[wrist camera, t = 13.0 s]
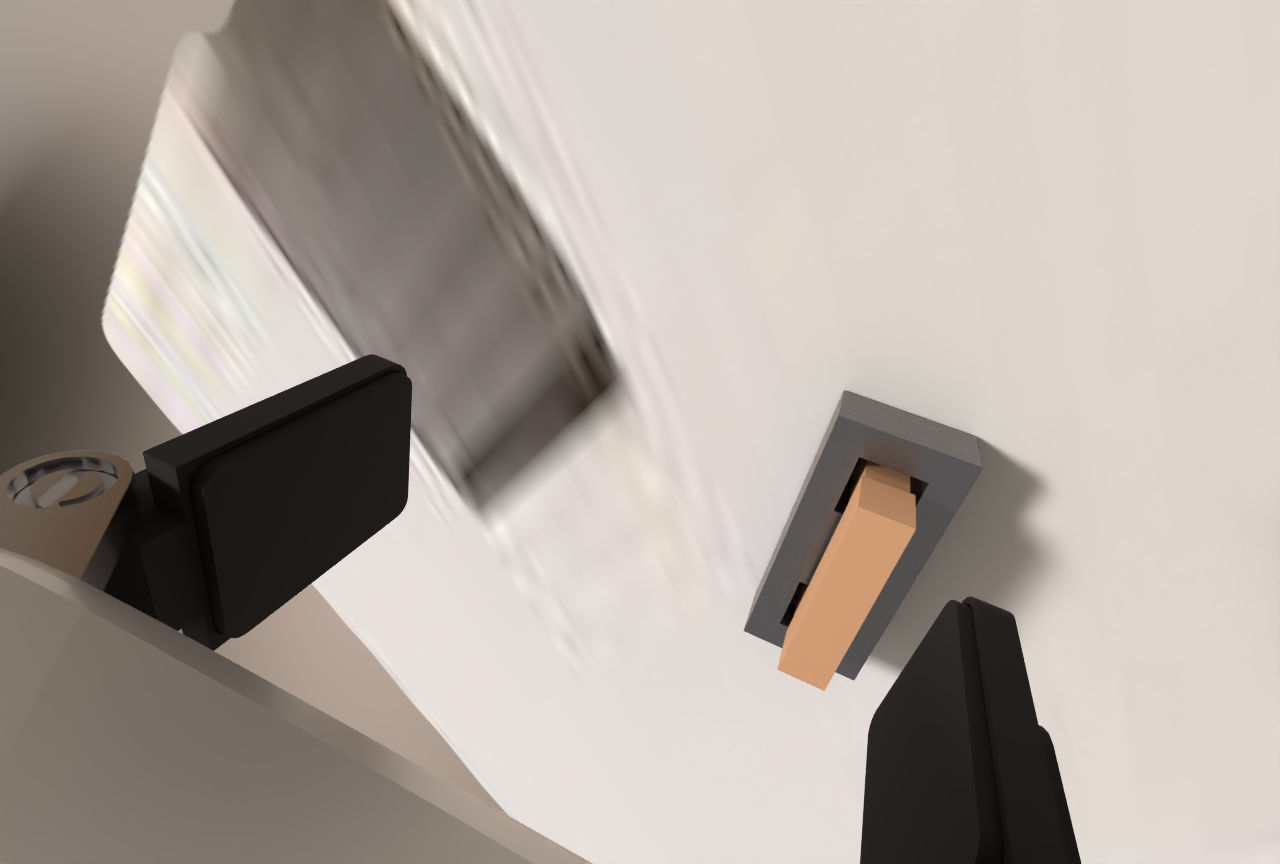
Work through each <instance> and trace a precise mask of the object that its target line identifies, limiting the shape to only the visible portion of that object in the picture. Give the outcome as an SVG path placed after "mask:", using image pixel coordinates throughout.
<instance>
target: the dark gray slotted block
mask: <svg viewBox="0 0 1280 864" xmlns="http://www.w3.org/2000/svg"><path fill="white" fill-rule="evenodd" d="M859 457H860V458H863V459H866V460H868V461H871V462H874V463H876V464H879V465H882V466H884V467H887V468H890V469H893V470H895V471H898V472H901V473H903V474H906V475H909V476H911V477H913V479H912V481H911V483H910V493H911V494H914V495H915V502H916V530H915V532H914V534H913V535H912V537H911V539H910V541H909V542H908V544H907V546H906V548H905V550H904V551H903V553H902V555H901V557H900V558H899V560H898V562H897V564H896V565H895V567H894V569H893V571H892V572H891V574H890V576H889V578H888V579H887V581H886V583H885V585H884V587H883V588H882V590H881V592H880V594H879V595H878V597H877V599H876V601H875V602H874V604H873V606H872V608H871V609H870V611H869V613H868V615H867V616H866V618H865V620H864V622H863V624H862V625H861V627H860V629H859V631H858V632H857V634H856V636H855V638H854V639H853V641H852V643H851V645H850V646H849V648H848V650H847V652H846V653H845V655H844V657H843V659H842V660H841V662H840V664H839V666H838V668H837V669H836V671H835V672H836V673H839V674H841V675H843V676H845V677H847V678H850V679H852V680H855V678H856V677H857V675H858V673H859V672H860V670H861V668H862V667H863V665H864V663H865V662H866V660H867V658H868V657H869V655H870V653H871V652H872V650H873V648H874V647H875V645H876V643H877V642H878V640H879V639H880V637H881V635H882V634H883V632H884V630H885V629H886V627H887V625H888V624H889V622H890V620H891V619H892V617H893V615H894V614H895V612H896V610H897V609H898V607H899V605H900V604H901V602H902V601H903V599H904V597H905V596H906V594H907V592H908V591H909V589H910V587H911V586H912V584H913V582H914V581H915V579H916V577H917V576H918V574H919V572H920V571H921V569H922V567H923V566H924V564H925V563H926V561H927V559H928V558H929V556H930V554H931V553H932V551H933V549H934V548H935V546H936V544H937V543H938V541H939V539H940V538H941V536H942V534H943V533H944V531H945V529H946V528H947V526H948V525H949V523H950V521H951V520H952V518H953V516H954V515H955V513H956V511H957V510H958V508H959V506H960V505H961V503H962V501H963V500H964V498H965V496H966V495H967V493H968V491H969V490H970V488H971V486H972V485H973V483H974V482H975V480H976V478H977V477H978V475H979V473H980V472H981V470H982V468H983V466H982V461H981V457H980V452H979V448H978V443H977V439H976V436H973V435H970V434H967V433H964V432H962V431H959V430H956V429H953V428H950V427H947V426H945V425H942V424H939V423H936V422H933V421H930V420H928V419H925V418H922V417H919V416H916V415H913V414H911V413H908V412H905V411H902V410H899V409H896V408H894V407H891V406H888V405H885V404H882V403H879V402H877V401H874V400H871V399H868V398H865V397H862V396H860V395H857V394H854V393H851V392H848V391H845V390H844V392H843V394H842V396H841V399H840V401H839V403H838V406H837V408H836V410H835V412H834V415H833V417H832V419H831V422H830V424H829V426H828V429H827V431H826V433H825V435H824V438H823V440H822V442H821V445H820V447H819V449H818V452H817V454H816V456H815V458H814V461H813V463H812V465H811V468H810V470H809V472H808V475H807V477H806V479H805V481H804V484H803V486H802V488H801V491H800V493H799V495H798V498H797V500H796V502H795V504H794V507H793V509H792V511H791V514H790V516H789V518H788V521H787V523H786V525H785V527H784V530H783V532H782V534H781V537H780V539H779V541H778V544H777V546H776V548H775V550H774V553H773V555H772V557H771V560H770V562H769V564H768V567H767V569H766V571H765V573H764V576H763V578H762V580H761V583H760V585H759V587H758V590H757V592H756V594H755V597H754V600H753V603H752V606H751V609H750V613H749V616H748V619H747V622H746V625H745V628H744V631H745V632H748V633H750V634H752V635H754V636H756V637H759V638H761V639H763V640H765V641H768V642H770V643H772V644H774V645H776V646H779V647H781V648H783V644H784V640H785V636H786V632H787V629H788V627H789V625H790V623H791V621H792V619H793V617H794V613H795V609H796V604H797V600H798V596H799V591H796V588H797V586H798V584H799V582H802V583H804V584H806V585H809V584H810V582H811V580H812V578H813V576H814V574H815V571H816V569H817V567H818V565H819V563H820V561H821V559H822V557H823V555H824V553H825V551H826V549H827V547H828V545H829V543H830V540H831V538H832V536H833V534H834V532H835V530H836V528H837V526H838V524H839V522H840V520H841V518H842V516H843V514H844V512H845V509H846V507H847V505H848V503H849V498H850V492H851V486H852V484H850V483H847V482H848V480H849V478H850V475H851V473H852V471H853V469H854V467H855V465H856V463H857V461H858V459H859Z"/></svg>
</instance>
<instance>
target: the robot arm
mask: <svg viewBox="0 0 1280 864" xmlns="http://www.w3.org/2000/svg"><path fill="white" fill-rule="evenodd" d="M411 402H412V382H411V380H410V378H408V377H407V373H406V371H405V368H404V367H402V366H401V365H399V364H397V363H394V362H392V361H389V360H387V359H384V358H382V357H379V356H377V355H373V354H371V355H367V356H364V357H362V358H359V359H357V360H355V361H352V362H350V363H348V364H346V365H343V366H341V367H339V368H336V369H334V370H332V371H329V372H327V373H325V374H322V375H320V376H318V377H315V378H313V379H311V380H308V381H306V382H304V383H301V384H299V385H297V386H295V387H292V388H290V389H288V390H285V391H283V392H281V393H278V394H276V395H274V396H271V397H269V398H267V399H264V400H262V401H260V402H257V403H255V404H253V405H250V406H248V407H246V408H243V409H241V410H239V411H237V412H234V413H232V414H230V415H227V416H225V417H223V418H220V419H218V420H216V421H213V422H211V423H209V424H206V425H204V426H202V427H199V428H197V429H195V430H192V431H190V432H188V433H185V434H183V435H181V436H179V437H176V438H174V439H172V440H169V441H167V442H165V443H162V444H160V445H158V446H155V447H153V448H151V449H148V450H146V451H144V452H143V456H144V460H145V465H146V469H145V470H143V471H140V472H138V473H136V474H134V471H133V469H132V467H131V465H130V463H129V462H128V461H126V460H125V459H123V458H121V457H120V456H118V455H114V454H111V453H107V452H101V451H88V450H82V451H69V452H68V451H67V452H60V453H55V454H50V455H45V456H41V457H39V458H35V459H33V460H30V461H27V462H24V463H22V464H20V465H18V466H16V467H14V468H12V469H10V470H8V471H6V472H5V473H4V474H3V475H2V476H0V864H592V863H590V862H589V861H587V860H585V859H583V858H582V857H580V856H578V855H576V854H575V853H573V852H571V851H569V850H568V849H566V848H564V847H562V846H560V845H559V844H557V843H555V842H553V841H552V840H550V839H548V838H546V837H545V836H543V835H541V834H539V833H538V832H536V831H534V830H532V829H531V828H529V827H527V826H525V825H524V824H522V823H520V822H518V821H517V820H515V819H513V818H511V817H509V816H508V815H506V814H504V813H502V812H501V811H499V810H497V809H495V808H493V807H492V806H490V805H488V804H486V803H485V802H483V801H481V800H479V799H477V798H476V797H474V796H472V795H470V794H468V793H467V792H465V791H463V790H461V789H460V788H458V787H456V786H454V785H453V784H451V783H449V782H447V781H445V780H443V779H442V778H440V777H438V776H437V775H435V774H433V773H431V772H429V771H428V770H426V769H424V768H422V767H421V766H419V765H417V764H415V763H413V762H412V761H410V760H408V759H406V758H404V757H403V756H401V755H399V754H397V753H396V752H394V751H392V750H390V749H389V748H387V747H385V746H383V745H381V744H380V743H378V742H376V741H374V740H372V739H371V738H369V737H367V736H365V735H363V734H362V733H360V732H358V731H356V730H355V729H353V728H351V727H349V726H347V725H346V724H344V723H342V722H340V721H339V720H337V719H335V718H333V717H331V716H330V715H328V714H326V713H324V712H322V711H321V710H319V709H317V708H315V707H314V706H312V705H310V704H308V703H306V702H305V701H303V700H301V699H299V698H297V697H296V696H294V695H292V694H290V693H288V692H286V691H285V690H283V689H281V688H279V687H277V686H276V685H274V684H272V683H270V682H268V681H267V680H265V679H263V678H261V677H259V676H258V675H256V674H254V673H252V672H250V671H249V670H247V669H245V668H243V667H241V666H240V665H238V664H236V663H234V662H232V661H230V660H229V659H227V658H225V657H223V656H221V655H220V654H218V653H216V652H214V650H215V649H217V648H218V647H219V646H221V645H222V644H223V643H225V642H226V641H227V640H229V639H230V638H238V637H241V636H243V635H244V634H246V633H247V632H249V631H250V630H252V629H253V628H254V627H255V626H256V625H258V624H259V623H261V622H262V621H263V620H264V619H266V618H267V617H268V616H269V615H271V614H272V613H273V612H274V611H276V610H277V609H279V608H280V607H281V606H283V605H284V604H285V603H286V602H288V601H289V600H290V599H291V598H293V597H294V596H295V595H297V594H298V593H299V592H301V591H302V590H303V589H304V588H306V587H307V586H308V585H310V584H311V583H312V582H314V581H315V580H316V579H317V578H319V577H320V576H321V575H323V574H324V573H325V572H326V571H328V570H329V569H330V568H332V567H333V566H334V565H336V564H337V563H338V562H339V561H341V560H342V559H343V558H345V557H346V556H347V555H348V554H350V553H351V552H352V551H354V550H355V549H356V548H357V547H359V546H360V545H361V544H363V543H364V542H365V541H367V540H368V539H369V538H370V537H372V536H373V535H374V534H376V533H377V532H378V531H379V530H381V529H382V528H383V527H385V526H386V525H387V524H388V523H390V522H391V521H392V520H394V519H395V518H396V517H397V516H398V515H399V514H400V513H401V512H402V511H403V509H404V507H405V506H406V503H407V499H408V482H409V455H410V429H411ZM180 629H182V631H183V634H182V633H180V632H178V631H179V630H180ZM860 864H1081V860H1080V856H1079V852H1078V848H1077V843H1076V839H1075V835H1074V831H1073V826H1072V822H1071V818H1070V814H1069V810H1068V805H1067V801H1066V797H1065V793H1064V788H1063V784H1062V780H1061V776H1060V772H1059V767H1058V763H1057V759H1056V755H1055V750H1054V746H1053V743H1052V740H1051V738H1050V735H1049V733H1048V732H1047V731H1046V730H1045V729H1044V728H1043V727H1042V726H1039V725H1038V721H1037V717H1036V712H1035V707H1034V703H1033V698H1032V694H1031V689H1030V685H1029V680H1028V676H1027V671H1026V666H1025V662H1024V657H1023V653H1022V648H1021V644H1020V639H1019V635H1018V630H1017V626H1016V621H1015V618H1014V616H1013V614H1012V613H1010V612H1008V611H1006V610H1003V609H1001V608H998V607H996V606H993V605H991V604H989V603H986V602H984V601H981V600H979V599H976V598H974V597H967V598H966V599H965V600H963V602H962V603H960V602H957V601H955V600H950V601H949V602H948V603H947V604H946V605H945V607H944V608H943V610H942V611H941V613H940V614H939V616H938V617H937V619H936V620H935V622H934V624H933V625H932V627H931V628H930V630H929V631H928V633H927V634H926V636H925V637H924V639H923V640H922V642H921V643H920V645H919V646H918V648H917V649H916V651H915V652H914V654H913V655H912V657H911V659H910V660H909V662H908V663H907V665H906V666H905V668H904V669H903V671H902V672H901V674H900V675H899V677H898V678H897V680H896V681H895V683H894V684H893V686H892V687H891V689H890V690H889V692H888V694H887V695H886V697H885V698H884V700H883V701H882V703H881V704H880V706H879V707H878V709H877V710H876V712H875V714H874V716H873V718H872V721H871V724H870V728H869V733H868V745H867V761H866V777H865V793H864V809H863V825H862V842H861V858H860Z"/></svg>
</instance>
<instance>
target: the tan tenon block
mask: <svg viewBox="0 0 1280 864" xmlns="http://www.w3.org/2000/svg"><path fill="white" fill-rule="evenodd" d="M915 530H916V502H915V495H914V494H911V493H910V476H909V475H906V474H903V473H901V472H898V471H895V470H893V469H890V468H887V467H884V466H882V465H879V464H876V463H874V462H871V461H868V460H866V459H863V458H861V459H860V461H859V464H858V466H857V468H856V470H855V472H854V474H853V479H852V486H851V492H850V498H849V503H848V505H847V507H846V509H845V512H844V514H843V516H842V518H841V520H840V522H839V524H838V526H837V528H836V530H835V532H834V534H833V536H832V538H831V540H830V543H829V545H828V547H827V549H826V551H825V553H824V555H823V557H822V559H821V561H820V563H819V565H818V567H817V569H816V571H815V574H814V576H813V578H812V580H811V582H810V584H809V585H806V584H804V583H802V584H801V587H800V592H799V596H798V600H797V604H796V609H795V613H794V617H793V619H792V621H791V623H790V625H789V627H788V629H787V632H786V636H785V640H784V644H783V648H782V652H781V657H780V661H779V665H778V670H780V671H782V672H784V673H787V674H789V675H791V676H793V677H795V678H797V679H800V680H802V681H804V682H806V683H808V684H811V685H813V686H815V687H817V688H819V689H821V690H825V689H826V687H827V685H828V683H829V682H830V680H831V678H832V676H833V675H834V673H835V671H836V669H837V668H838V666H839V664H840V662H841V660H842V659H843V657H844V655H845V653H846V652H847V650H848V648H849V646H850V645H851V643H852V641H853V639H854V638H855V636H856V634H857V632H858V631H859V629H860V627H861V625H862V624H863V622H864V620H865V618H866V616H867V615H868V613H869V611H870V609H871V608H872V606H873V604H874V602H875V601H876V599H877V597H878V595H879V594H880V592H881V590H882V588H883V587H884V585H885V583H886V581H887V579H888V578H889V576H890V574H891V572H892V571H893V569H894V567H895V565H896V564H897V562H898V560H899V558H900V557H901V555H902V553H903V551H904V550H905V548H906V546H907V544H908V542H909V541H910V539H911V537H912V535H913V534H914V532H915Z"/></svg>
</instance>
